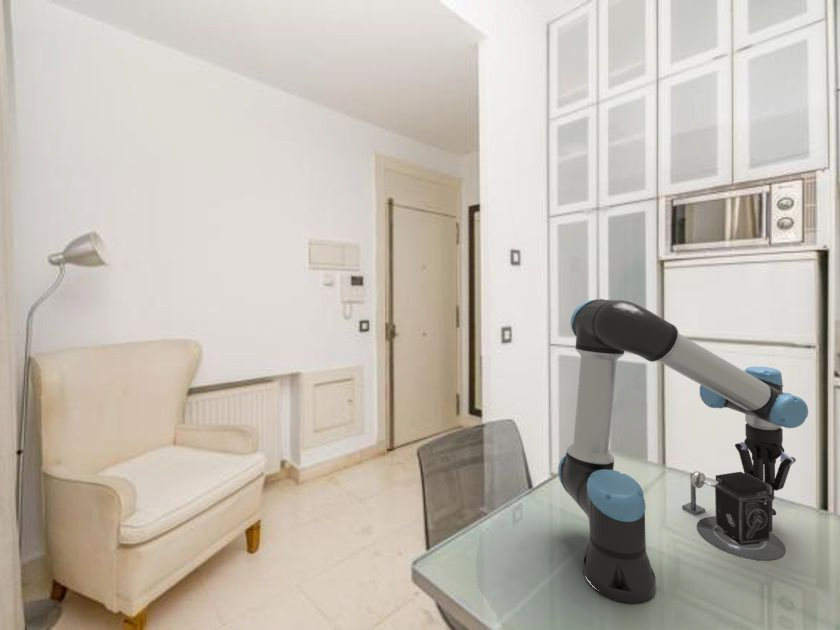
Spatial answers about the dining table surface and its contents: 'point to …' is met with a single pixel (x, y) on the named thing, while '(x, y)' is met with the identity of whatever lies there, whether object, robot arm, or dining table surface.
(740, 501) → the camera
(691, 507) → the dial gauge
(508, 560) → the dining table surface
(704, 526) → the disc
